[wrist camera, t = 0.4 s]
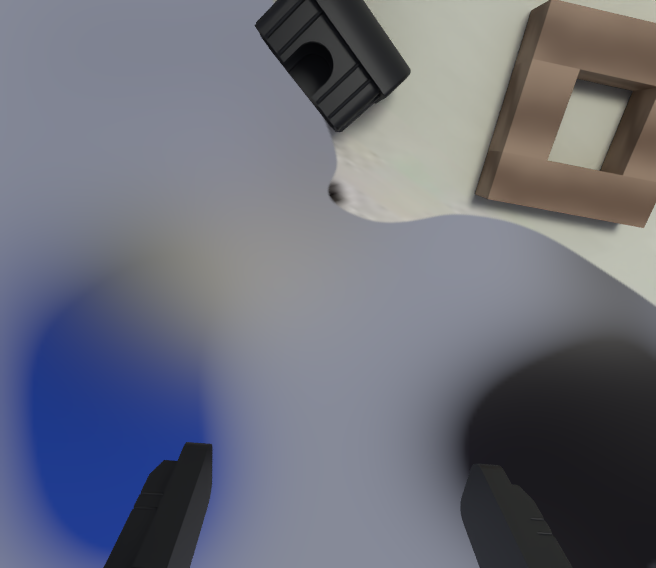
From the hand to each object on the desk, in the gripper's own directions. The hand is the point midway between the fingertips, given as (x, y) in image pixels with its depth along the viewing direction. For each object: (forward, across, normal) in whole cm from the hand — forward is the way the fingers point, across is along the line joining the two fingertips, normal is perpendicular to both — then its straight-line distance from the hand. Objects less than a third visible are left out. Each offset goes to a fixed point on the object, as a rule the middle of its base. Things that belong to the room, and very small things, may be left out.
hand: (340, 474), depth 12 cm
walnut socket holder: (+28, -22, -13) cm, 38 cm away
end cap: (+29, +1, -15) cm, 33 cm away
